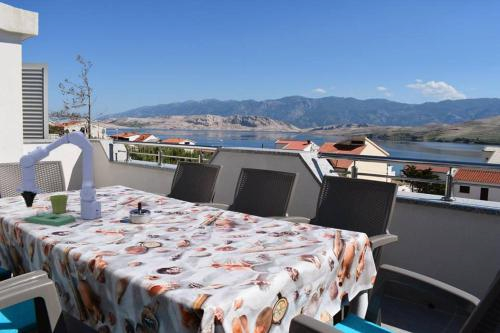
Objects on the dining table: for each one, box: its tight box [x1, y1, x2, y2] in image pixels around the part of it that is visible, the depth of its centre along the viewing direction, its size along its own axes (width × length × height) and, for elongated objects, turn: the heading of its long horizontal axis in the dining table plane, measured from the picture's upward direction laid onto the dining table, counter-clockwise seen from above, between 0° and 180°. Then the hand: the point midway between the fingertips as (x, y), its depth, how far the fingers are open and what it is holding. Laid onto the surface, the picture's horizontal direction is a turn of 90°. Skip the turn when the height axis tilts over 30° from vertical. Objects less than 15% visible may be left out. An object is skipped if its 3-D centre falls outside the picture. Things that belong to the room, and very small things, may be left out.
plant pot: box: [48, 194, 69, 214], centre depth 210 cm, size 9×9×9 cm
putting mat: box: [24, 213, 76, 227], centre depth 191 cm, size 20×11×2 cm, turn 71°
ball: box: [36, 208, 45, 216], centre depth 193 cm, size 4×4×4 cm
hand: (29, 206), depth 195 cm, fingers closed
